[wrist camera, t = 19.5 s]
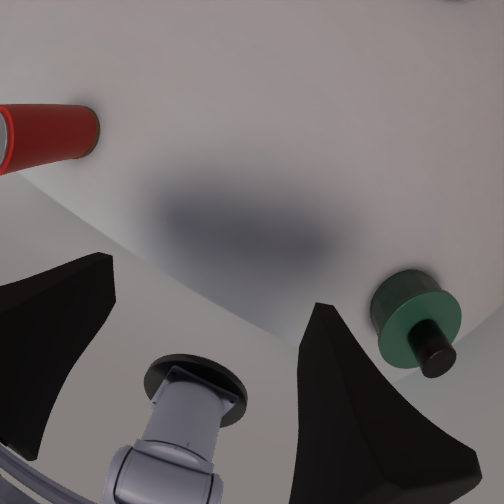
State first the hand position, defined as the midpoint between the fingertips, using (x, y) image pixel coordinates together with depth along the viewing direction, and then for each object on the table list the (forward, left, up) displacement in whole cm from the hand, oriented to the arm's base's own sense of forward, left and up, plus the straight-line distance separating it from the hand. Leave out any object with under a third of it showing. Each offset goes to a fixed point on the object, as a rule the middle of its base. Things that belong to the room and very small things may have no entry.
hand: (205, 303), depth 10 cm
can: (0, +14, -10) cm, 17 cm away
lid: (+1, -14, -7) cm, 15 cm away
